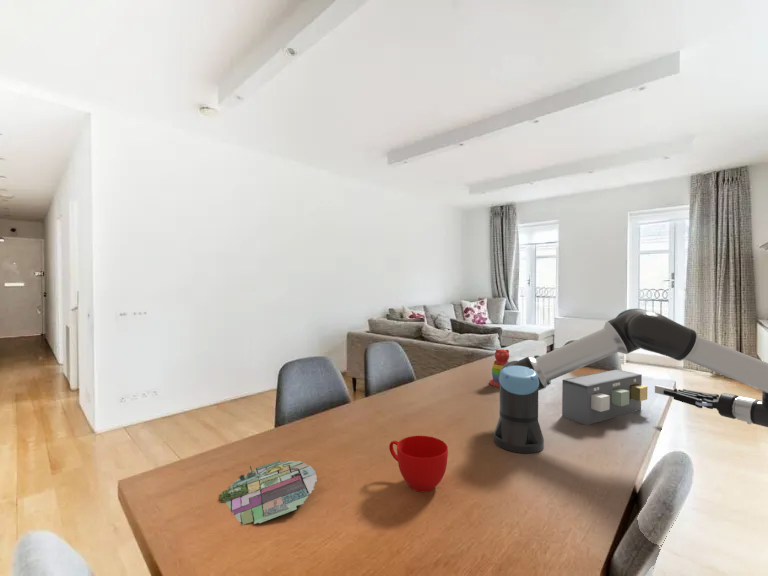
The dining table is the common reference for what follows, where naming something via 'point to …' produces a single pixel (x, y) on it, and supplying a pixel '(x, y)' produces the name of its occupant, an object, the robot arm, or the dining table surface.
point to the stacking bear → (499, 365)
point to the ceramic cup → (421, 461)
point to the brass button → (638, 392)
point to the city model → (270, 491)
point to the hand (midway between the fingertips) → (656, 388)
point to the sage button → (619, 397)
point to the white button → (600, 402)
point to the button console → (582, 387)
